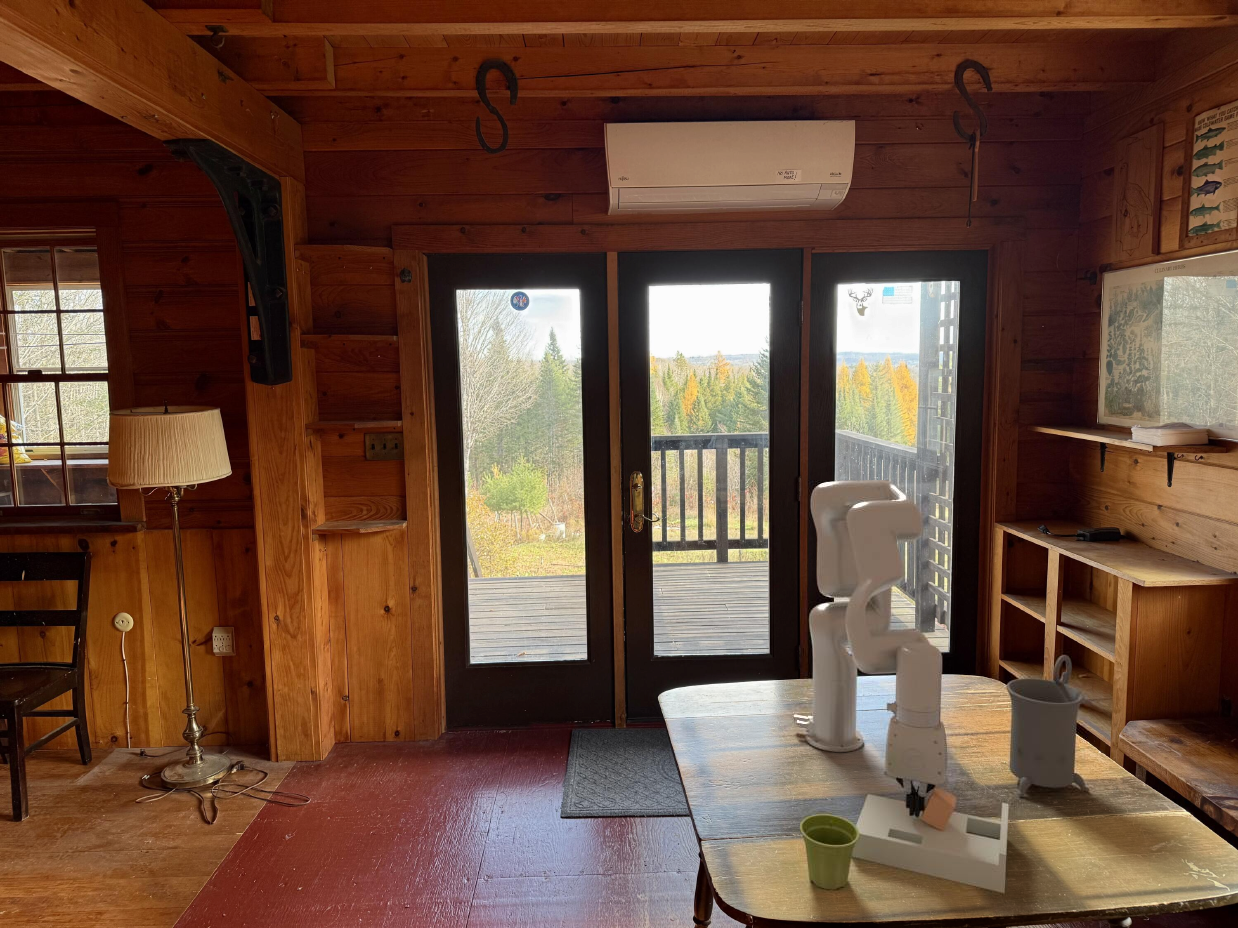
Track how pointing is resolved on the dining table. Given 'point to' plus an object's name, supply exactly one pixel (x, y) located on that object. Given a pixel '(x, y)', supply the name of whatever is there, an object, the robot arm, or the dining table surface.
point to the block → (939, 808)
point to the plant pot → (829, 849)
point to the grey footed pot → (1044, 730)
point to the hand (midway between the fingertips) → (915, 812)
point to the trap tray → (934, 843)
